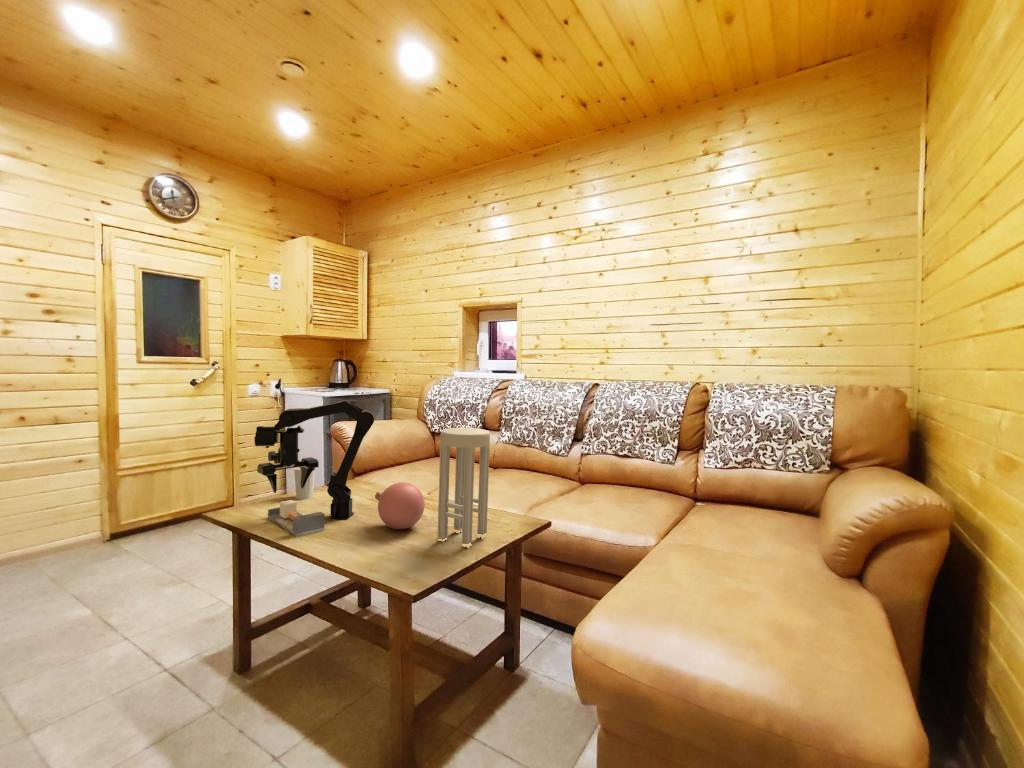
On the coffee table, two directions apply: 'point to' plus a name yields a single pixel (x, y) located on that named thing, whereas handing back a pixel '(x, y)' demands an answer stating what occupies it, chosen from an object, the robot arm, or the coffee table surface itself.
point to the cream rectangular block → (288, 509)
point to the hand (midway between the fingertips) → (288, 490)
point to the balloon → (400, 505)
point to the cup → (308, 488)
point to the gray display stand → (298, 522)
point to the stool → (463, 481)
